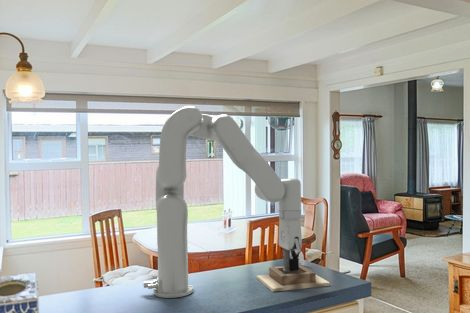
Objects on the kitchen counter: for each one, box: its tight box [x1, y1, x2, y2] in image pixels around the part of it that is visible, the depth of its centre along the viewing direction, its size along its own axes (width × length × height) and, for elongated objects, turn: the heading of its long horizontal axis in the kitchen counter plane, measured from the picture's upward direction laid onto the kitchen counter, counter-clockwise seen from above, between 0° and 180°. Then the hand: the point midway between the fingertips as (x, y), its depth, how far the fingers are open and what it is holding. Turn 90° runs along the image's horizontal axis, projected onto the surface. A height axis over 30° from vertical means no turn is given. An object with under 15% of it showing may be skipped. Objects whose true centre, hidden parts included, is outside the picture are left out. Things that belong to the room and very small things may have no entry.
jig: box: [256, 264, 331, 292], centre depth 146 cm, size 20×16×4 cm
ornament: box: [299, 251, 305, 265], centre depth 168 cm, size 6×7×7 cm
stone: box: [282, 247, 299, 274], centre depth 146 cm, size 3×6×10 cm, turn 82°
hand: (291, 268), depth 146 cm, fingers closed on stone, 4 cm apart
